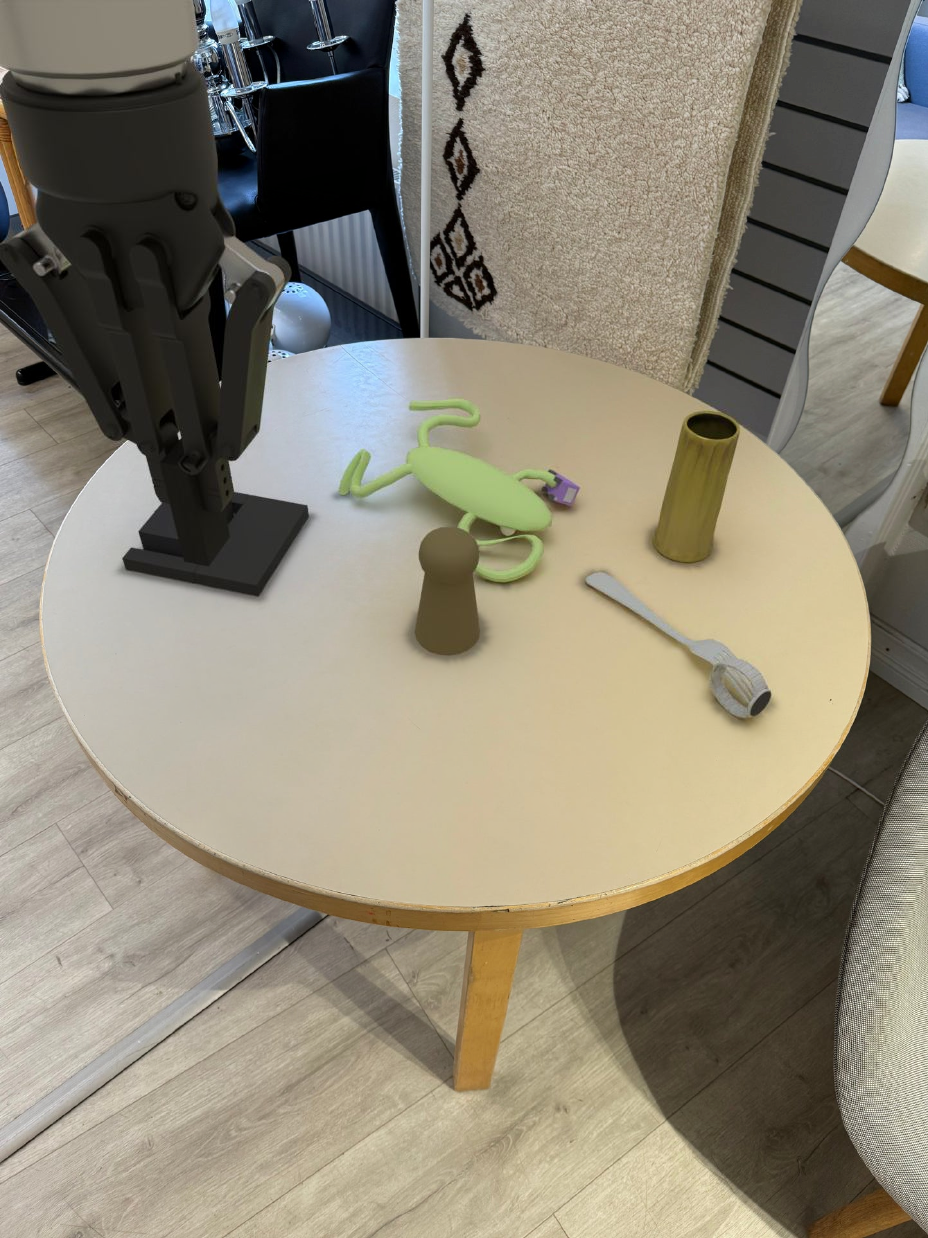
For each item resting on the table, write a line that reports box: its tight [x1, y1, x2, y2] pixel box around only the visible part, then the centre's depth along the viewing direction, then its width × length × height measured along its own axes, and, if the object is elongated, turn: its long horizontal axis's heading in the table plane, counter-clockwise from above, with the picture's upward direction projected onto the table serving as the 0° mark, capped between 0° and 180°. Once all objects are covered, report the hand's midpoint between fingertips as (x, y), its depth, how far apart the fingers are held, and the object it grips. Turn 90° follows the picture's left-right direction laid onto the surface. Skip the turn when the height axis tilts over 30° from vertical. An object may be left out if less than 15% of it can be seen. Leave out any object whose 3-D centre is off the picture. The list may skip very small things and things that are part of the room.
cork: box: [414, 526, 481, 656], centre depth 80 cm, size 6×6×11 cm
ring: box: [709, 656, 772, 719], centre depth 76 cm, size 3×5×5 cm, turn 36°
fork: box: [585, 571, 754, 705], centre depth 84 cm, size 3×21×3 cm, turn 39°
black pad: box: [121, 491, 310, 597], centre depth 91 cm, size 14×13×2 cm
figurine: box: [338, 397, 581, 583], centre depth 96 cm, size 18×27×6 cm
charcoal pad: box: [138, 500, 235, 558], centre depth 91 cm, size 6×8×3 cm
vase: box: [652, 410, 741, 563], centre depth 89 cm, size 6×6×14 cm
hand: (207, 548), depth 50 cm, fingers closed
